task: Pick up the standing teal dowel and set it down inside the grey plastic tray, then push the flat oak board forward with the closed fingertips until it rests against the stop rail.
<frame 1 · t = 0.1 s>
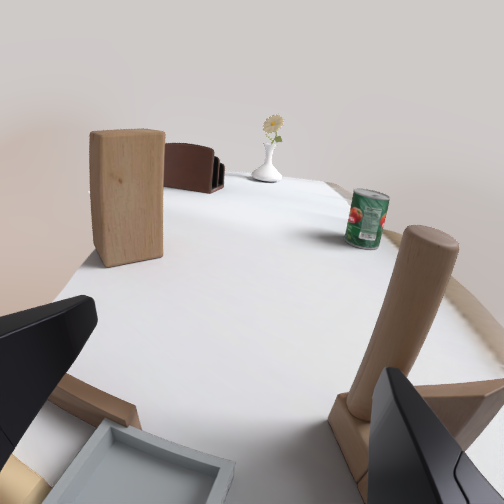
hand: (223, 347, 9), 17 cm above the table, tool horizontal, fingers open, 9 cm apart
letter holder: (188, 187, 99), on the table
stop rail: (79, 409, 22), on the table
canned tomato: (361, 243, 67), on the table
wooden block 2: (365, 463, 20), on the table
flower in vase: (267, 181, 117), on the table
wooden block: (126, 252, 52), on the table
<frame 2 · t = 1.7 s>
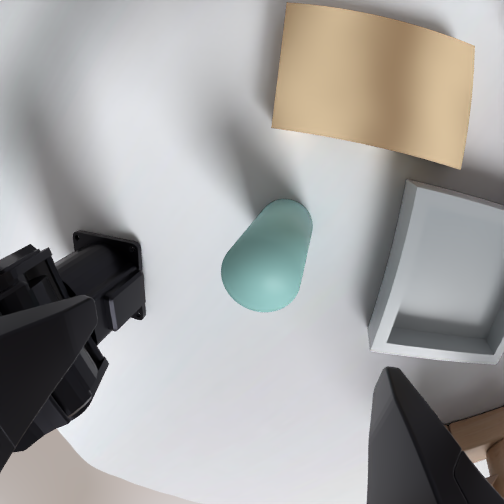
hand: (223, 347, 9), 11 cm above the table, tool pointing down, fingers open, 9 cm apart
board: (374, 84, 15), on the table
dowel: (285, 225, 19), on the table
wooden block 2: (462, 426, 22), on the table
tray: (457, 273, 17), on the table
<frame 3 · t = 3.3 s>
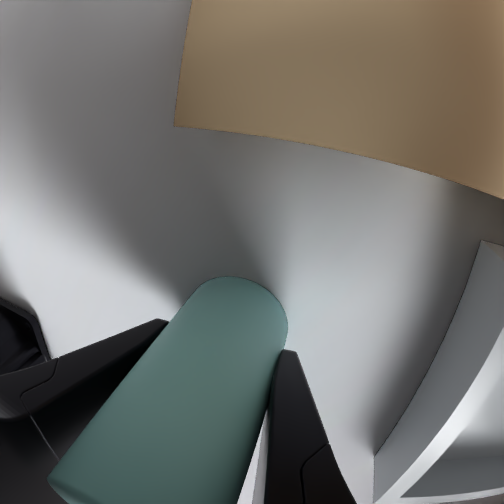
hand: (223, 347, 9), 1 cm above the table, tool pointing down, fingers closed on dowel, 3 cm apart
board: (420, 36, 6), on the table
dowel: (236, 323, 10), on the table, touching gripper
when the fingers open (3 cm above the table, at t = 6.6 s): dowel drops 1 cm, resting on tray.
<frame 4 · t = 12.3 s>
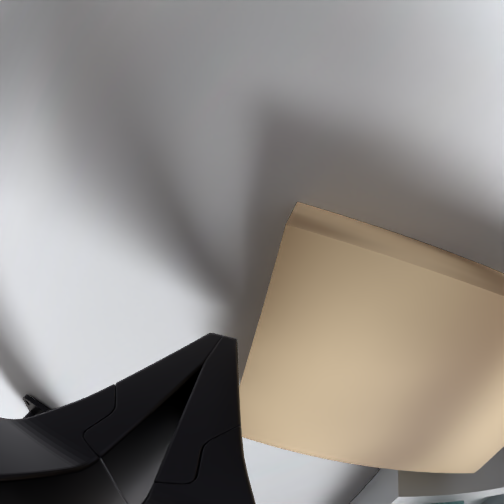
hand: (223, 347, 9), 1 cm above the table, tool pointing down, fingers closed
board: (412, 348, 9), on the table
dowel: (436, 503, 11), point 1 cm above the table, touching tray
tray: (435, 495, 12), on the table
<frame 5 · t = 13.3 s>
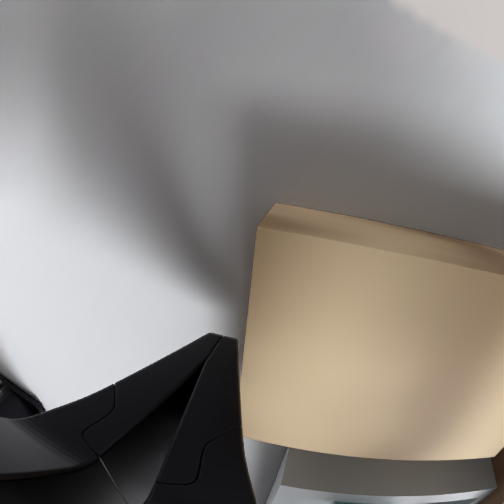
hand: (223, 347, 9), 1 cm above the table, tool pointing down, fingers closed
board: (414, 335, 9), on the table
tray: (365, 495, 12), on the table
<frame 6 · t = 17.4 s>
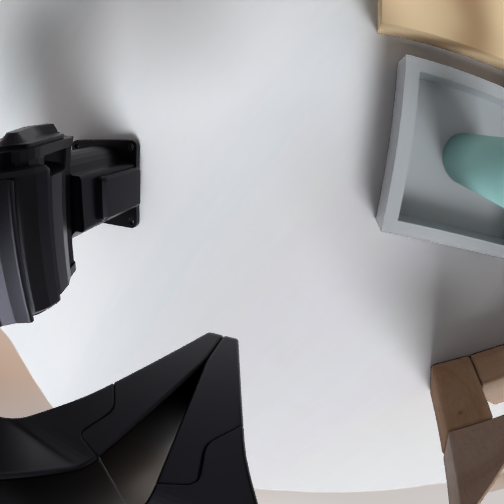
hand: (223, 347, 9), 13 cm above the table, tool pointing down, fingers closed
board: (449, 7, 13), on the table
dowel: (465, 159, 16), point 1 cm above the table, touching tray
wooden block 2: (484, 362, 21), on the table
tray: (461, 159, 16), on the table
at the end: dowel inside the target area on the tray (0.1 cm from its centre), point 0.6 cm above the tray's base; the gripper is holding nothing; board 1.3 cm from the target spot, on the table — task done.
